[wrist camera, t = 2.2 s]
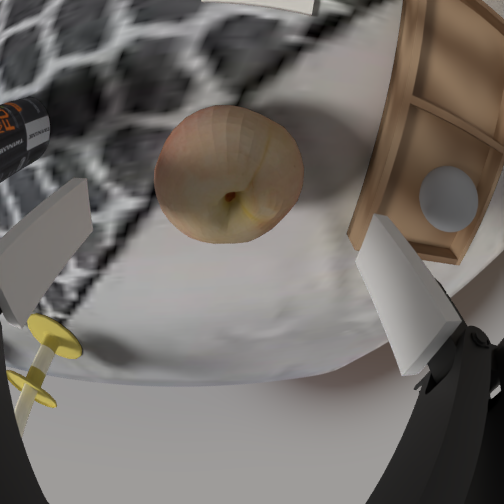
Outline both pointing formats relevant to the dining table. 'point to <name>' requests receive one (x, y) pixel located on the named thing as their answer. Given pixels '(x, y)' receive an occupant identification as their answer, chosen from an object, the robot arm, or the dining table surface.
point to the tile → (275, 4)
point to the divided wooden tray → (437, 121)
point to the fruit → (228, 175)
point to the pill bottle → (22, 134)
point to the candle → (41, 364)
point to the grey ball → (448, 198)
